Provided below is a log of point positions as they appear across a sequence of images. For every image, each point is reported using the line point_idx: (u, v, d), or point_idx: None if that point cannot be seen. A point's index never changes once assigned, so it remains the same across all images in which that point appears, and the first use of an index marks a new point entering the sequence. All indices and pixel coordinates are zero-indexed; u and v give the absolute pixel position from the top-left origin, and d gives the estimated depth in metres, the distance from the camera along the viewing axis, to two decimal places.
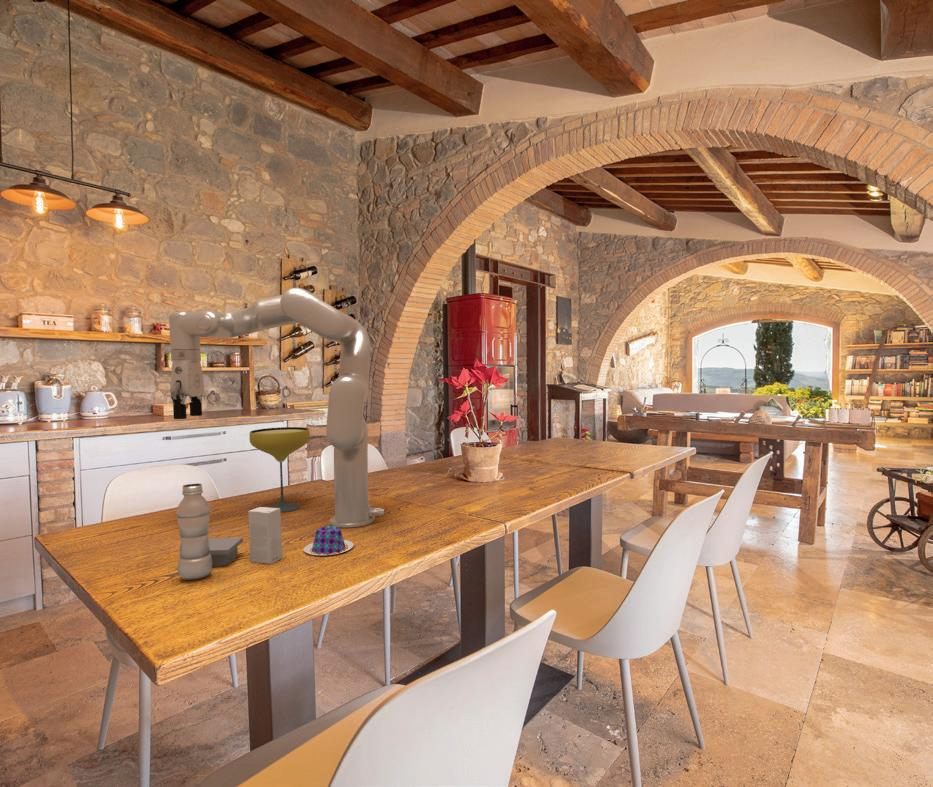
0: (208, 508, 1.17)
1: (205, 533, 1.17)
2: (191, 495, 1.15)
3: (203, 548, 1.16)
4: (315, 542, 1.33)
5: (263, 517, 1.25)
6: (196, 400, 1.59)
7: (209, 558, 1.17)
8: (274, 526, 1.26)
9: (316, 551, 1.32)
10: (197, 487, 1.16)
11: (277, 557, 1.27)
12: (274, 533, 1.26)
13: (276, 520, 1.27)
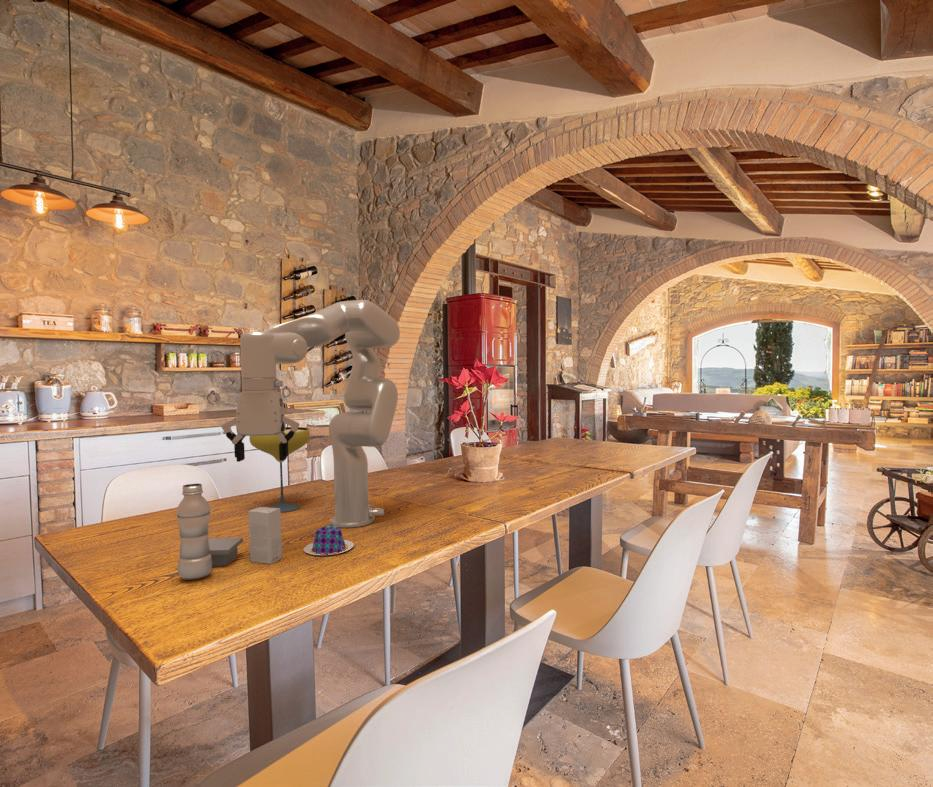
0: (208, 508, 1.17)
1: (205, 533, 1.17)
2: (191, 495, 1.15)
3: (203, 548, 1.16)
4: (315, 542, 1.33)
5: (263, 517, 1.25)
6: (241, 441, 1.27)
7: (209, 558, 1.17)
8: (274, 526, 1.26)
9: (317, 551, 1.32)
10: (197, 487, 1.16)
11: (277, 557, 1.27)
12: (274, 533, 1.26)
13: (276, 520, 1.27)
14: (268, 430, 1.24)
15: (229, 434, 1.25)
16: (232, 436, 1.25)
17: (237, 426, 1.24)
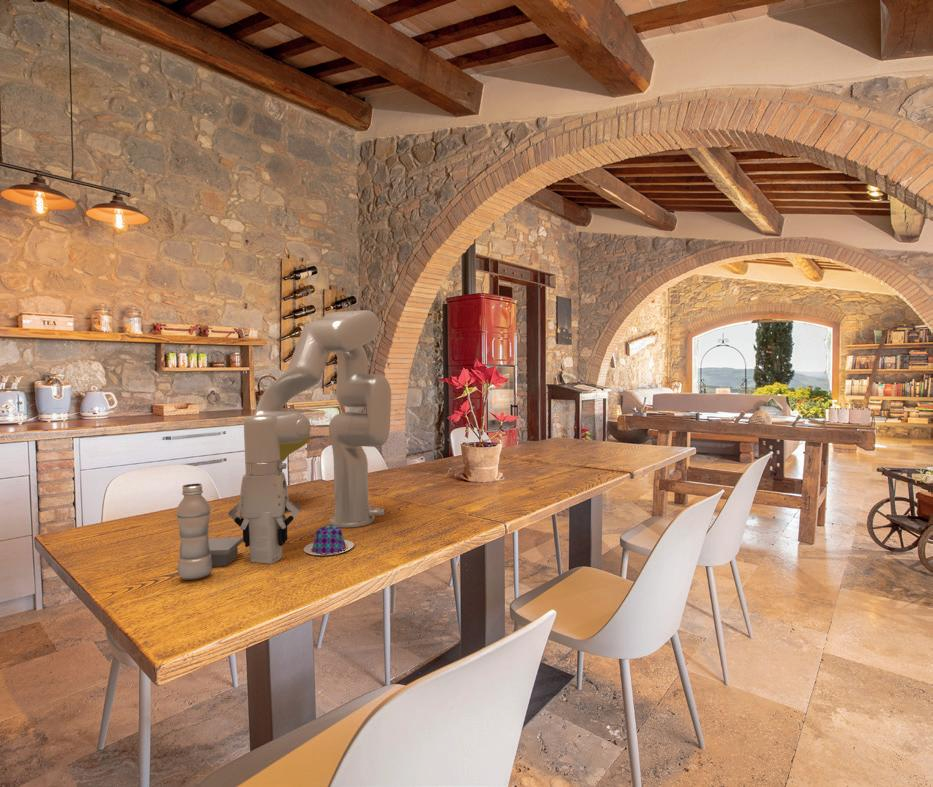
0: (208, 508, 1.17)
1: (205, 533, 1.17)
2: (191, 495, 1.15)
3: (203, 548, 1.16)
4: (316, 542, 1.33)
5: (263, 517, 1.25)
6: None
7: (209, 558, 1.17)
8: (274, 526, 1.26)
9: (317, 551, 1.32)
10: (197, 487, 1.16)
11: (277, 557, 1.27)
12: (274, 533, 1.26)
13: (276, 520, 1.27)
14: (272, 513, 1.25)
15: (237, 520, 1.26)
16: (241, 521, 1.26)
17: (241, 510, 1.25)
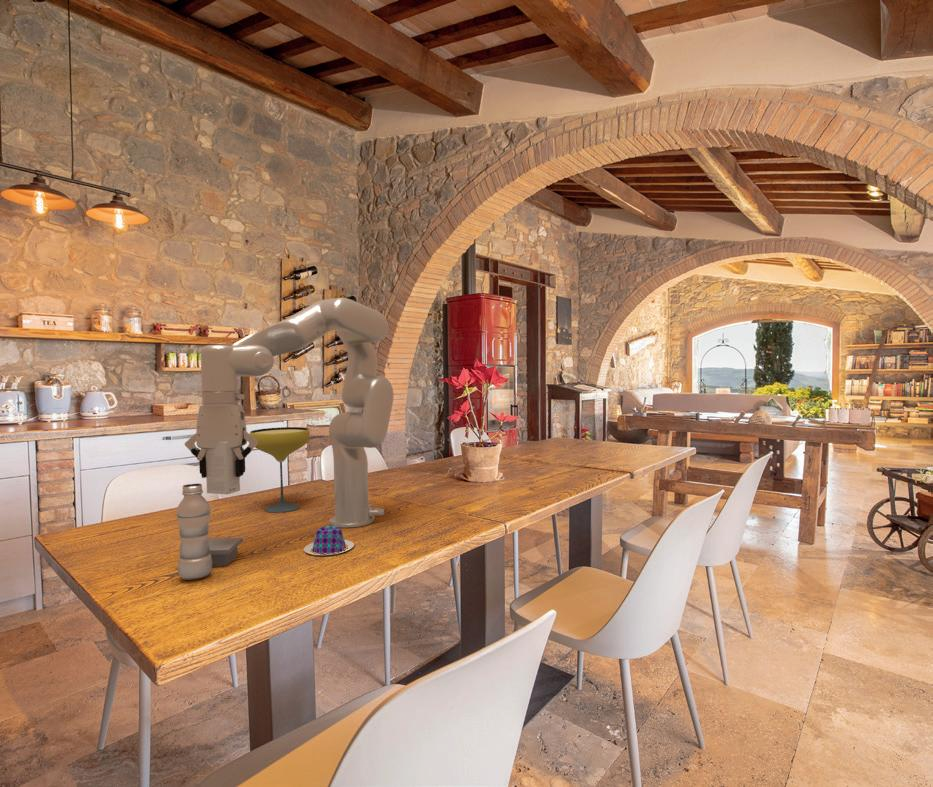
0: (208, 508, 1.17)
1: (205, 533, 1.17)
2: (191, 495, 1.15)
3: (203, 548, 1.16)
4: (316, 542, 1.33)
5: (219, 447, 1.24)
6: None
7: (209, 558, 1.17)
8: (232, 456, 1.25)
9: (318, 551, 1.32)
10: (197, 487, 1.16)
11: (234, 488, 1.26)
12: (231, 464, 1.25)
13: (233, 451, 1.26)
14: None
15: (194, 450, 1.25)
16: (197, 451, 1.25)
17: (197, 439, 1.24)
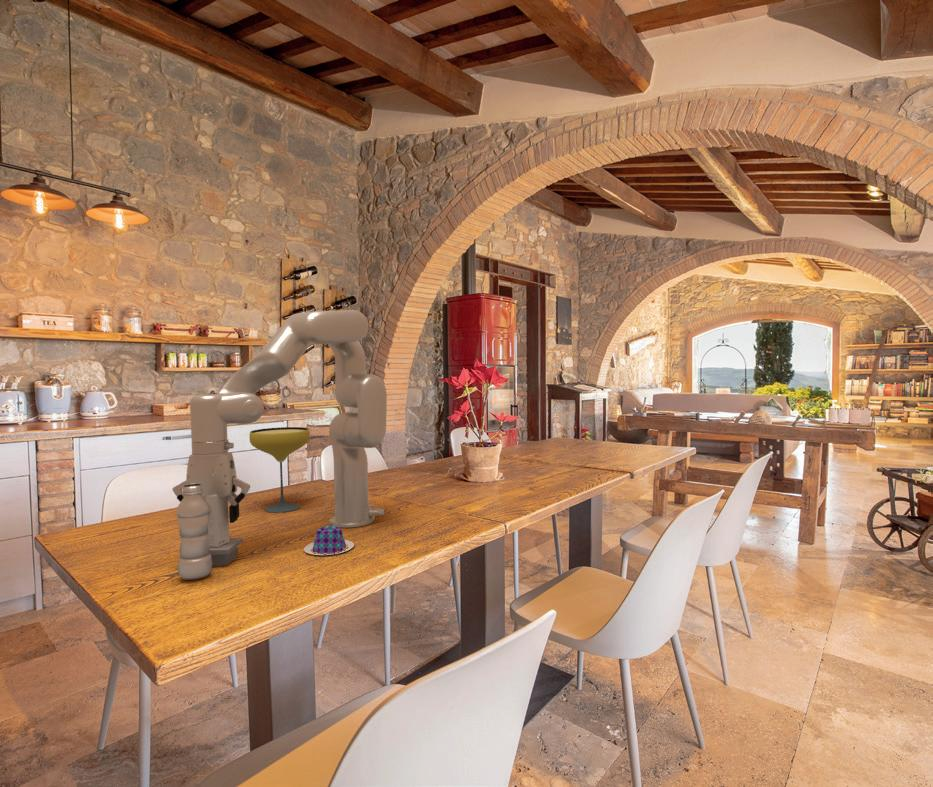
0: (208, 508, 1.17)
1: (205, 533, 1.17)
2: (191, 495, 1.15)
3: (203, 548, 1.16)
4: (317, 542, 1.33)
5: (209, 500, 1.25)
6: None
7: (209, 558, 1.17)
8: (221, 509, 1.26)
9: (319, 551, 1.32)
10: (197, 487, 1.16)
11: (224, 541, 1.27)
12: (221, 517, 1.26)
13: (222, 503, 1.27)
14: (218, 493, 1.25)
15: (180, 497, 1.26)
16: None
17: None
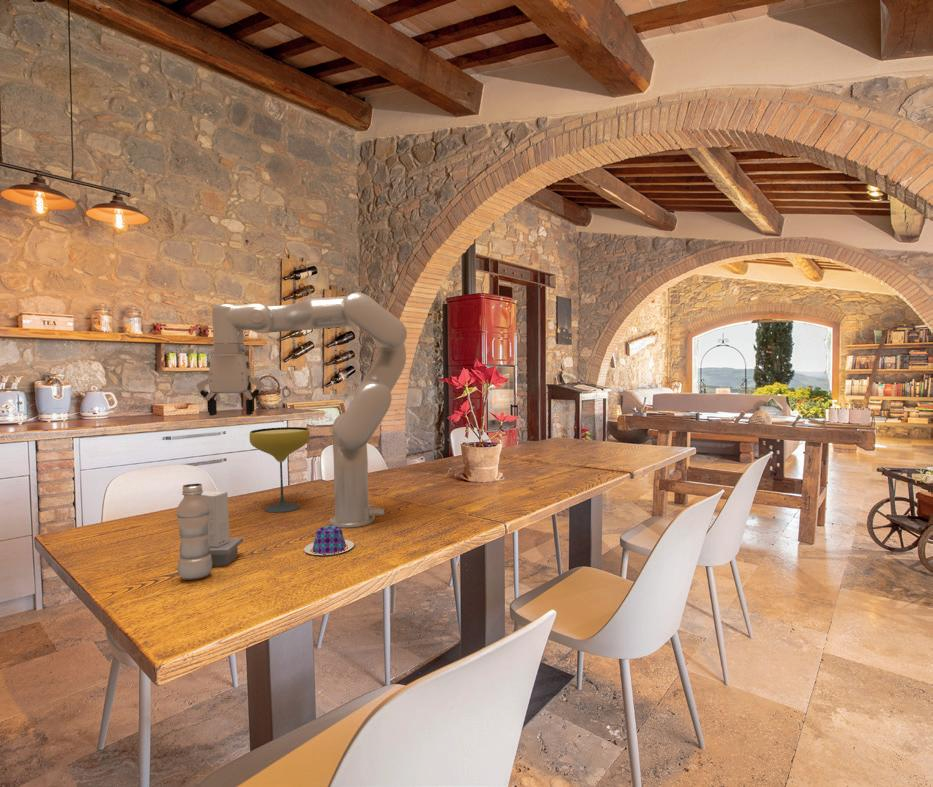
0: (208, 508, 1.17)
1: (205, 533, 1.17)
2: (191, 495, 1.15)
3: (203, 548, 1.16)
4: (317, 543, 1.33)
5: (209, 500, 1.25)
6: (213, 398, 1.47)
7: (209, 558, 1.17)
8: (221, 509, 1.26)
9: (320, 551, 1.32)
10: (197, 487, 1.16)
11: (224, 541, 1.27)
12: (221, 517, 1.26)
13: (222, 503, 1.27)
14: (236, 388, 1.45)
15: (203, 392, 1.46)
16: (205, 394, 1.46)
17: (209, 385, 1.45)
